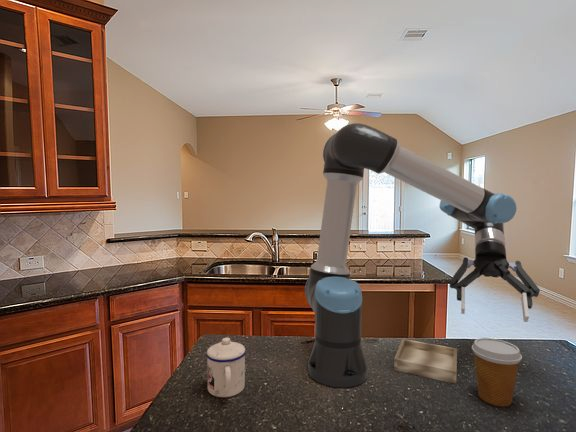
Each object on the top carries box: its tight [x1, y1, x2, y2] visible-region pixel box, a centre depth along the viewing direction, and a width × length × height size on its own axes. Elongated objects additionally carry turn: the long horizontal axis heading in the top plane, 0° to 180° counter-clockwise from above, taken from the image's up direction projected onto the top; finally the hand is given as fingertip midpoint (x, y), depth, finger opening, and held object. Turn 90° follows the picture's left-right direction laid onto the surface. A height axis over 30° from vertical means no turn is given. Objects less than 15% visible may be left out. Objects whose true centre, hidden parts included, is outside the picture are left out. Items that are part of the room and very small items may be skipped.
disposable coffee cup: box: [471, 337, 523, 407], centre depth 76 cm, size 10×10×12 cm
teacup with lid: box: [205, 337, 247, 398], centre depth 78 cm, size 12×9×12 cm
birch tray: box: [393, 338, 458, 385], centre depth 92 cm, size 15×15×3 cm
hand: (493, 315), depth 85 cm, fingers open, 13 cm apart
